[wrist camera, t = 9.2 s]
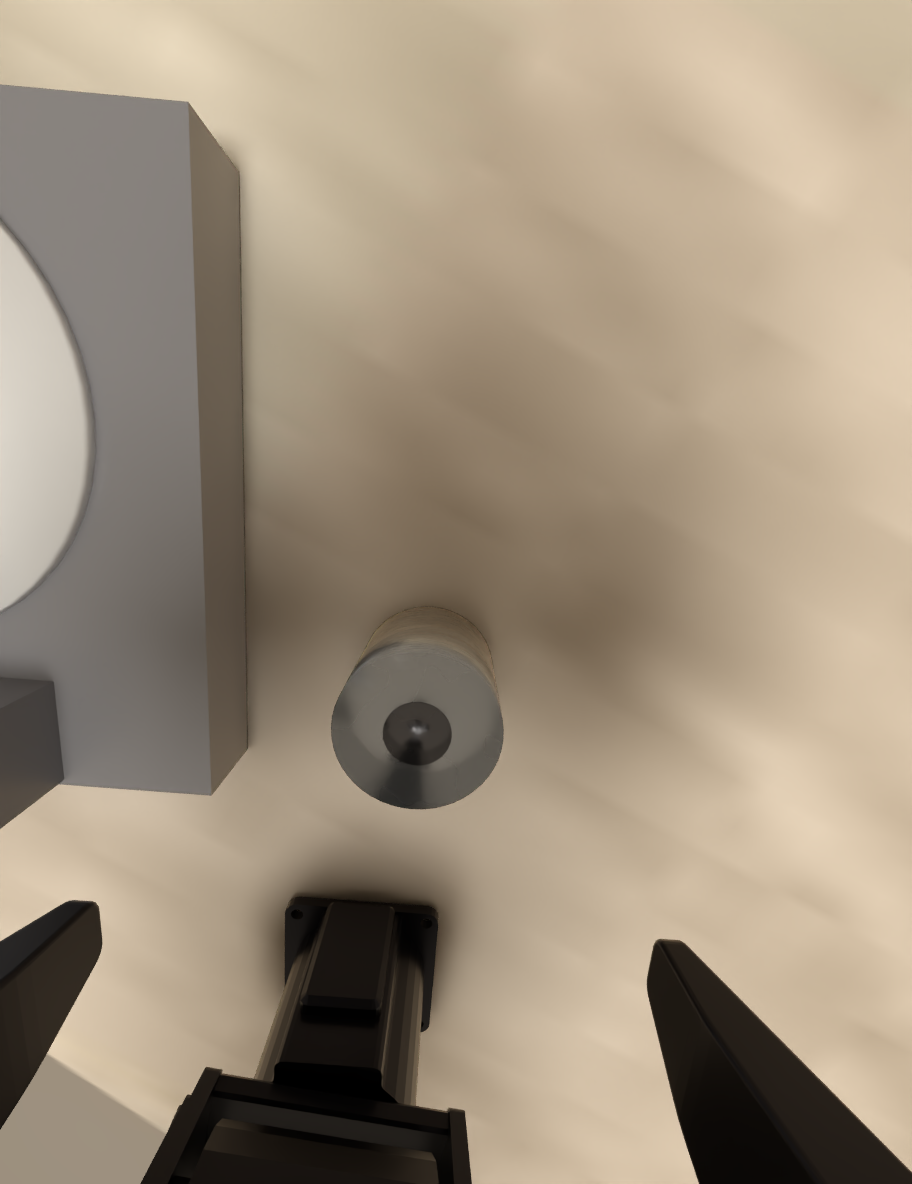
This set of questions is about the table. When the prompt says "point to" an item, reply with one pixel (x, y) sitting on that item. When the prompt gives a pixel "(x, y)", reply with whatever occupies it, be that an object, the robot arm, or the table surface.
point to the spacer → (420, 711)
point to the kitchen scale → (118, 449)
